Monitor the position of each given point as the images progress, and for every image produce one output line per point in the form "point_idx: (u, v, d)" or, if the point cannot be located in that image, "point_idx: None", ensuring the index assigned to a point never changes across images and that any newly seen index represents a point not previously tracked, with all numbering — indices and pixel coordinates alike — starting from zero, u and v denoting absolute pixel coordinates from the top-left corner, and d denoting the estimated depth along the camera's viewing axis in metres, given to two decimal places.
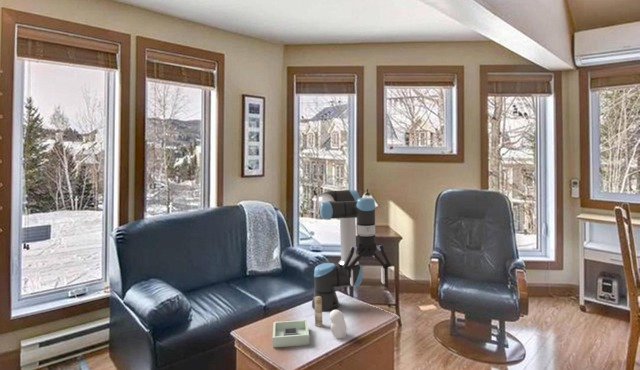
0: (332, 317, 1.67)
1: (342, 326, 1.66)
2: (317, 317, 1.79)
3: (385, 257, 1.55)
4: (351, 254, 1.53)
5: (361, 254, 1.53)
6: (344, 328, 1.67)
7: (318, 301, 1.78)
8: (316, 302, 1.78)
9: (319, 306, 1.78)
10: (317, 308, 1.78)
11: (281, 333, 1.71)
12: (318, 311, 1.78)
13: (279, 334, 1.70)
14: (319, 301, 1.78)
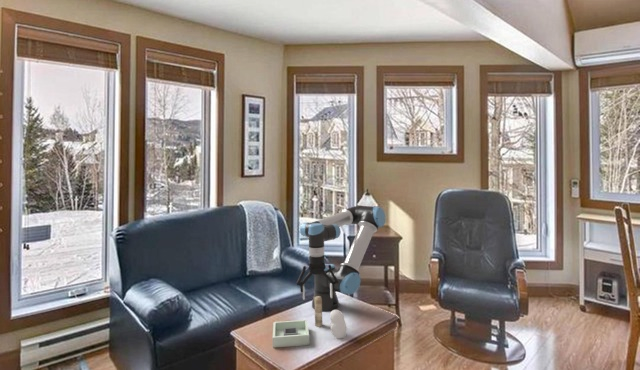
0: (332, 317, 1.66)
1: (342, 326, 1.66)
2: (317, 317, 1.79)
3: (333, 275, 1.78)
4: (303, 272, 1.77)
5: (311, 272, 1.77)
6: (344, 328, 1.67)
7: (318, 301, 1.78)
8: (316, 302, 1.78)
9: (319, 306, 1.78)
10: (317, 308, 1.78)
11: (281, 333, 1.71)
12: (318, 311, 1.78)
13: (279, 334, 1.70)
14: (319, 301, 1.78)
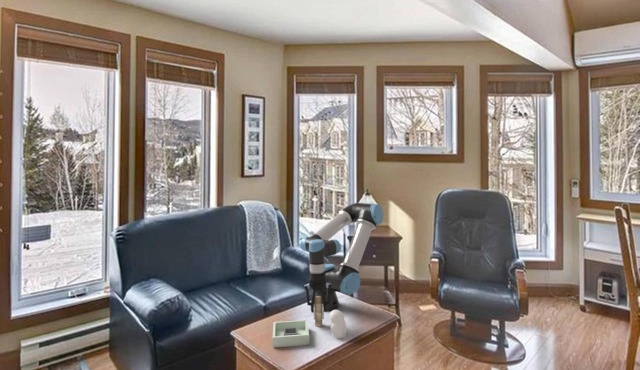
0: (332, 317, 1.67)
1: (342, 326, 1.66)
2: (317, 317, 1.79)
3: (328, 295, 1.79)
4: (307, 292, 1.78)
5: (314, 289, 1.78)
6: (344, 328, 1.67)
7: (318, 301, 1.78)
8: (316, 302, 1.78)
9: (319, 306, 1.78)
10: (317, 308, 1.78)
11: (281, 333, 1.71)
12: (318, 311, 1.78)
13: (279, 334, 1.70)
14: (319, 301, 1.78)
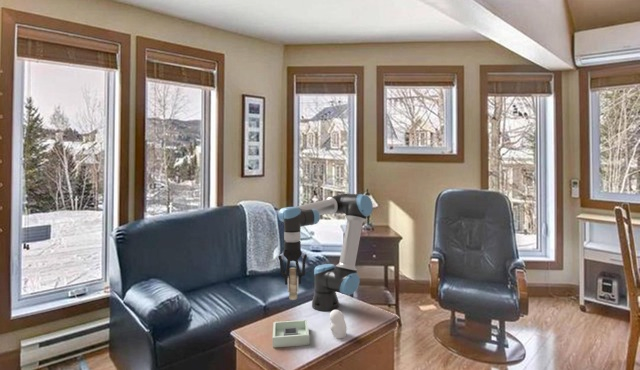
0: (332, 317, 1.66)
1: (342, 326, 1.66)
2: (291, 289, 1.67)
3: (303, 266, 1.67)
4: (281, 262, 1.66)
5: (289, 260, 1.66)
6: (344, 328, 1.67)
7: (292, 272, 1.66)
8: (290, 273, 1.67)
9: (294, 277, 1.67)
10: (291, 280, 1.67)
11: (281, 333, 1.71)
12: (292, 283, 1.67)
13: (279, 334, 1.70)
14: (294, 272, 1.67)
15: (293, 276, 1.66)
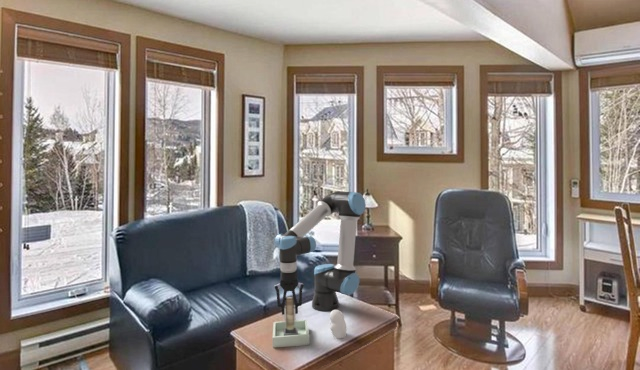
0: (332, 317, 1.66)
1: (342, 326, 1.66)
2: (288, 319, 1.66)
3: (300, 296, 1.66)
4: (277, 292, 1.65)
5: (285, 290, 1.65)
6: (344, 328, 1.67)
7: (289, 302, 1.65)
8: (287, 303, 1.66)
9: (290, 308, 1.66)
10: (288, 310, 1.66)
11: (281, 333, 1.71)
12: (289, 313, 1.66)
13: (279, 334, 1.70)
14: (290, 302, 1.66)
15: (290, 306, 1.66)
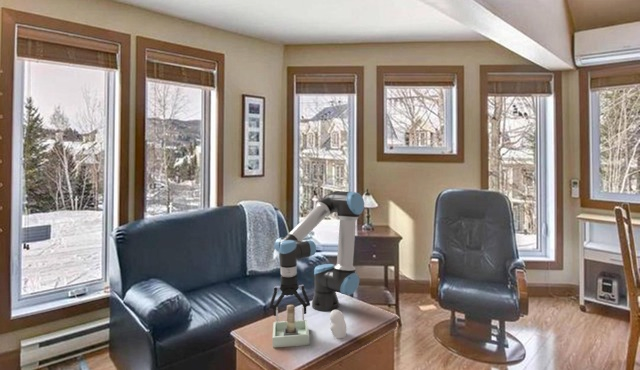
0: (332, 317, 1.67)
1: (342, 326, 1.66)
2: (289, 327, 1.66)
3: (305, 297, 1.67)
4: (274, 294, 1.65)
5: (283, 293, 1.65)
6: (344, 328, 1.67)
7: (290, 310, 1.66)
8: (288, 311, 1.66)
9: (291, 315, 1.66)
10: (289, 318, 1.66)
11: (281, 333, 1.71)
12: (290, 321, 1.66)
13: (279, 334, 1.70)
14: (291, 310, 1.66)
15: (291, 314, 1.66)
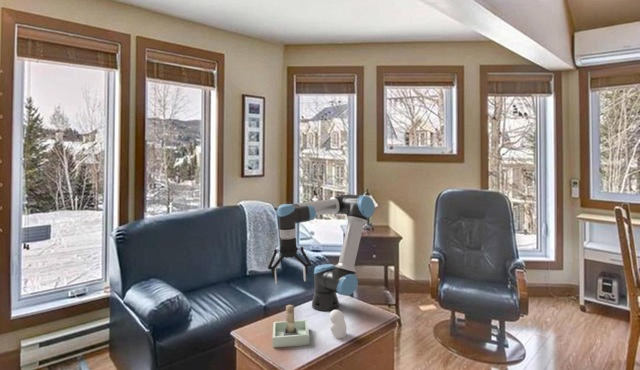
0: (332, 317, 1.67)
1: (342, 326, 1.66)
2: (289, 327, 1.66)
3: (305, 257, 1.71)
4: (274, 256, 1.69)
5: (283, 255, 1.69)
6: (344, 328, 1.67)
7: (289, 310, 1.66)
8: (287, 311, 1.66)
9: (291, 315, 1.66)
10: (289, 318, 1.66)
11: (281, 333, 1.71)
12: (290, 321, 1.66)
13: (279, 334, 1.70)
14: (291, 310, 1.66)
15: (290, 314, 1.66)
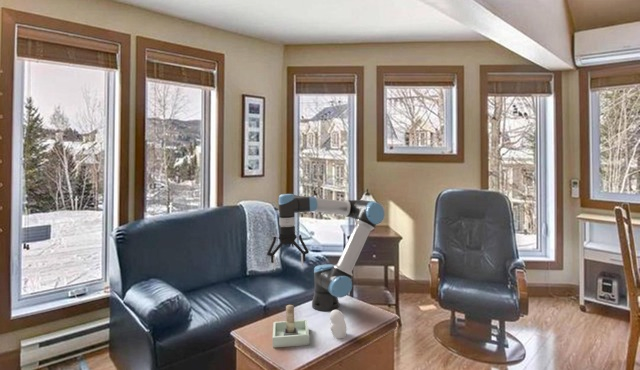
0: (332, 317, 1.66)
1: (342, 326, 1.66)
2: (289, 327, 1.66)
3: (303, 245, 1.78)
4: (273, 242, 1.77)
5: (282, 242, 1.77)
6: (344, 328, 1.67)
7: (289, 310, 1.66)
8: (287, 311, 1.66)
9: (291, 315, 1.66)
10: (289, 318, 1.66)
11: (281, 333, 1.71)
12: (290, 321, 1.66)
13: (279, 334, 1.70)
14: (291, 310, 1.66)
15: (290, 314, 1.66)
